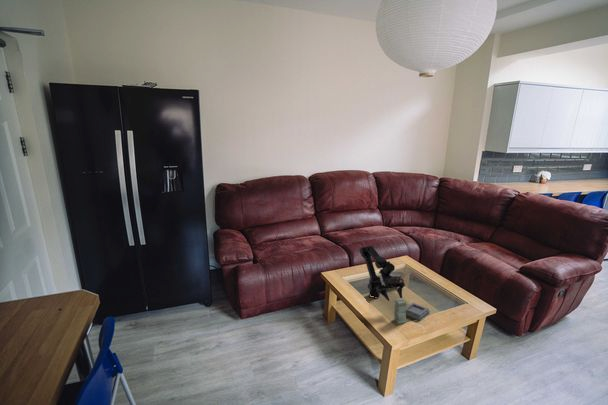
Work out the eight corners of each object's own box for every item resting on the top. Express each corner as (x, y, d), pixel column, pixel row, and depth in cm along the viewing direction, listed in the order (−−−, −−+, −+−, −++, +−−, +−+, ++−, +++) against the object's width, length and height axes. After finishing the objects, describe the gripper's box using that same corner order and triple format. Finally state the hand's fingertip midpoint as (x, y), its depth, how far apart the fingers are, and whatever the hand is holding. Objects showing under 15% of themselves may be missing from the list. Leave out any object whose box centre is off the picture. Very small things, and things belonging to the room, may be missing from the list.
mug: (403, 285, 231) (404, 273, 229) (403, 289, 224) (404, 277, 222) (390, 283, 235) (390, 272, 233) (389, 288, 227) (389, 276, 225)
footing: (403, 313, 191) (403, 308, 191) (412, 307, 199) (412, 302, 198) (420, 321, 182) (420, 315, 182) (429, 313, 190) (429, 308, 189)
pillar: (394, 319, 185) (394, 299, 183) (401, 318, 186) (401, 298, 184) (398, 324, 180) (398, 303, 178) (405, 322, 181) (406, 301, 179)
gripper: (378, 274, 187) (387, 298, 178) (403, 270, 191) (413, 293, 182) (372, 280, 196) (380, 303, 187) (396, 276, 200) (406, 299, 191)
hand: (395, 299), depth 187 cm, fingers open, 9 cm apart
